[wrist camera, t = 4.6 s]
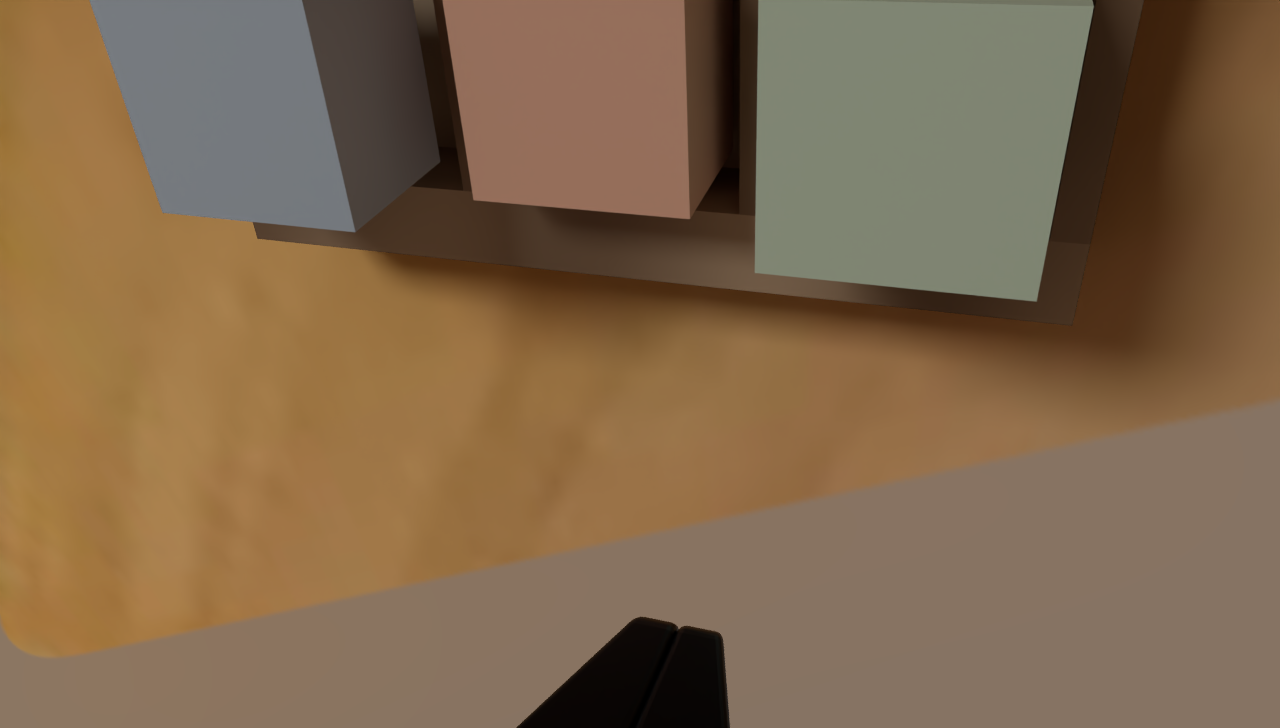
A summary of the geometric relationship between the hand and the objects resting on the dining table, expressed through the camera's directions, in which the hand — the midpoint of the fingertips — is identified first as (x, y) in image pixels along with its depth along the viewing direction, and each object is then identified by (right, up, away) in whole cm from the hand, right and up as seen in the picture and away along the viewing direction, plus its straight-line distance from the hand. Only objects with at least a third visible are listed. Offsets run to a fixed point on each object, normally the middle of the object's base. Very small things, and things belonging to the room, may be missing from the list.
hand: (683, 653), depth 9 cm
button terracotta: (-1, +8, +8) cm, 12 cm away
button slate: (-6, +8, +9) cm, 13 cm away
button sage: (+4, +7, +6) cm, 10 cm away
